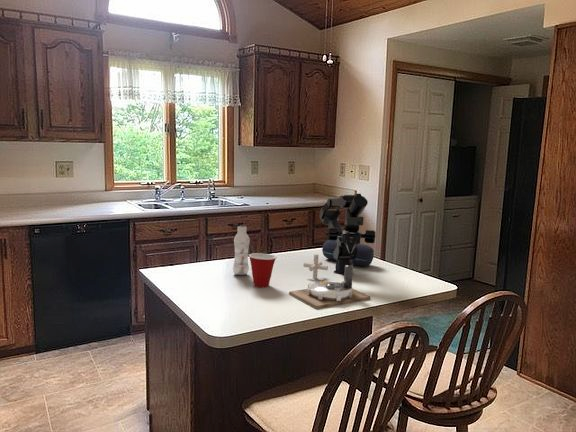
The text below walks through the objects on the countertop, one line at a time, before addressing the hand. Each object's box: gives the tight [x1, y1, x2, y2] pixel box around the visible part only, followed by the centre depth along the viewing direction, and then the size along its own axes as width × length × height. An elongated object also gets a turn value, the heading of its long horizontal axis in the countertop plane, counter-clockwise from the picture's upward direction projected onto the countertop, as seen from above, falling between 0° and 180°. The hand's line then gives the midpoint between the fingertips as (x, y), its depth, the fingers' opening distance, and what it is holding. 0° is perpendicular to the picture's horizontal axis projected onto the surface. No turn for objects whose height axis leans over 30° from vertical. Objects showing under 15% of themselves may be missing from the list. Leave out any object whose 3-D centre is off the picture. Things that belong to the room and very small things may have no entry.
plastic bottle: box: [232, 225, 251, 276], centre depth 196 cm, size 6×7×20 cm
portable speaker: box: [321, 239, 375, 268], centre depth 225 cm, size 25×10×10 cm, turn 53°
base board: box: [288, 280, 371, 310], centre depth 174 cm, size 24×17×3 cm
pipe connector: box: [303, 253, 329, 280], centre depth 197 cm, size 10×10×10 cm
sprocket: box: [306, 265, 354, 301], centre depth 174 cm, size 17×17×10 cm
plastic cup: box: [248, 252, 277, 288], centre depth 184 cm, size 11×11×12 cm
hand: (350, 253), depth 188 cm, fingers closed
